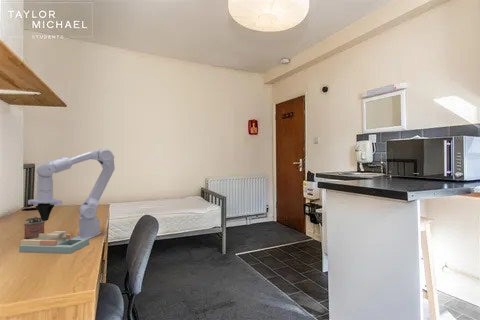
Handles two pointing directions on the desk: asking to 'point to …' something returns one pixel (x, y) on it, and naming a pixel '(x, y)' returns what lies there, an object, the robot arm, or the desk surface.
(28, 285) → the desk surface
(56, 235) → the block
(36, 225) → the lighter
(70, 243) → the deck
